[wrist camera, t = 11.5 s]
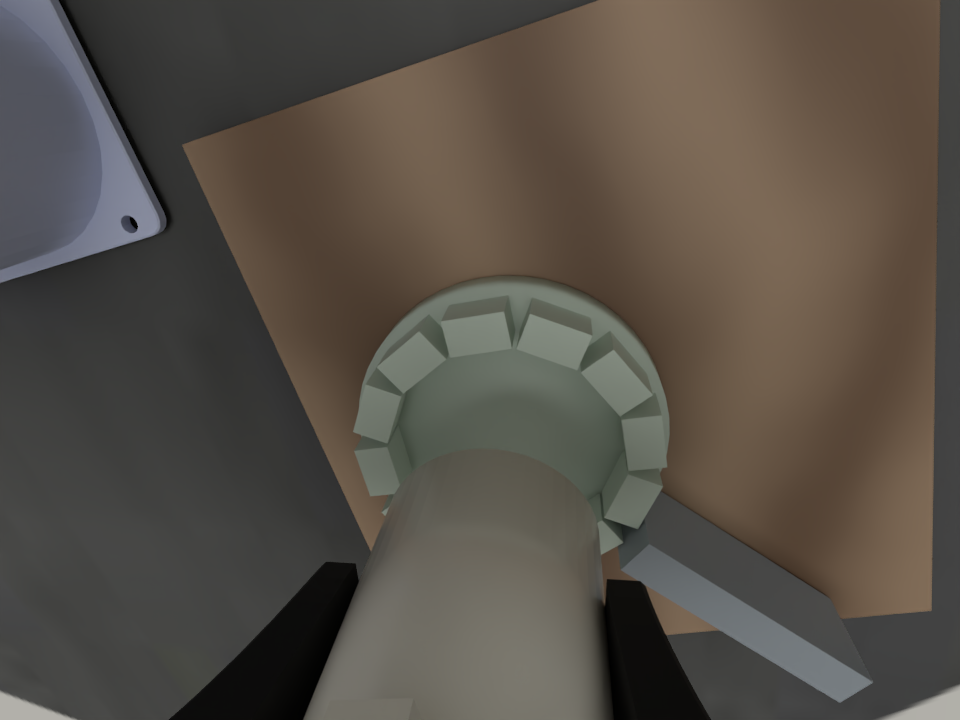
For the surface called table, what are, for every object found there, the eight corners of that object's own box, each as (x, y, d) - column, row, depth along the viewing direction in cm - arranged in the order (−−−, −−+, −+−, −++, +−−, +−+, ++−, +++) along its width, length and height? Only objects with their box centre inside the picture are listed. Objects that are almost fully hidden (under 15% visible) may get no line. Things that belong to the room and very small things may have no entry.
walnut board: (425, 636, 24) (420, 657, 23) (202, 141, 17) (181, 144, 16) (914, 586, 20) (931, 610, 19) (915, -105, 12) (941, -119, 12)
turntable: (330, 303, 17) (287, 345, 14) (843, 215, 14) (907, 246, 12) (442, 634, 23) (425, 709, 20) (829, 617, 20) (871, 702, 17)
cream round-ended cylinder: (350, 431, 12) (135, 785, 6) (576, 401, 12) (591, 788, 5) (437, 673, 16) (353, 1077, 9) (623, 667, 15) (669, 1114, 8)
